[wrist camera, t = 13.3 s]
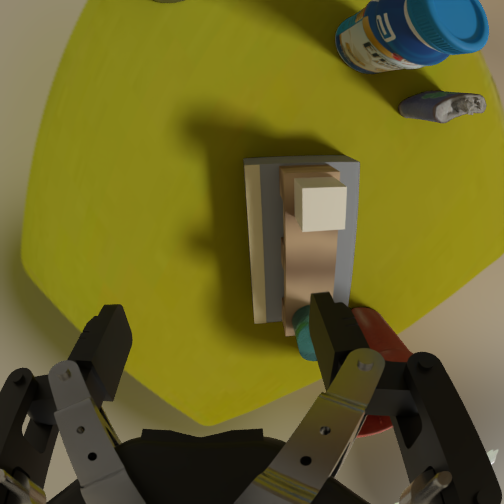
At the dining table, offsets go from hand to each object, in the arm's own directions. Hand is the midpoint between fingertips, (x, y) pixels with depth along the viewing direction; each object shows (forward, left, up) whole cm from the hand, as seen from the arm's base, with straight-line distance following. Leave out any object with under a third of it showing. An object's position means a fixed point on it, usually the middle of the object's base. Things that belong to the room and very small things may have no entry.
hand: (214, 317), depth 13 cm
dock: (+9, +9, -28) cm, 30 cm away
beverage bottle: (-17, +18, -28) cm, 38 cm away
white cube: (+1, +9, -19) cm, 21 cm away
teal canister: (+16, +9, -19) cm, 26 cm away
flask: (-10, +27, -28) cm, 40 cm away
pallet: (+8, +9, -23) cm, 26 cm away
